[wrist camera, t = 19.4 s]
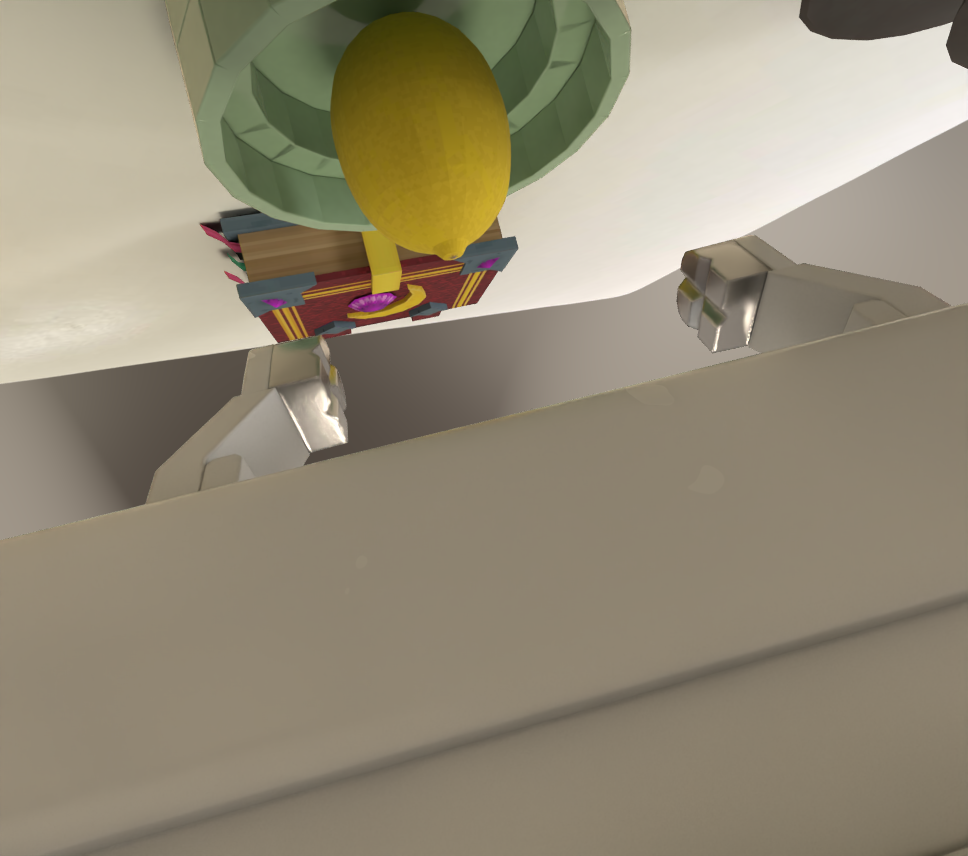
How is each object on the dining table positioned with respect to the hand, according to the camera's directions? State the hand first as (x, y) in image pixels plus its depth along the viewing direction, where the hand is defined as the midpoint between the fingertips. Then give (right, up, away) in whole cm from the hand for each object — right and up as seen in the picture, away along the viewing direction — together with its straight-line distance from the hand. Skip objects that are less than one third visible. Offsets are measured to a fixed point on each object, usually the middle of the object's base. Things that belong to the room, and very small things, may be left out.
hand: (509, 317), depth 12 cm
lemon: (-4, +11, +5) cm, 13 cm away
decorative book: (-9, +10, +22) cm, 26 cm away
